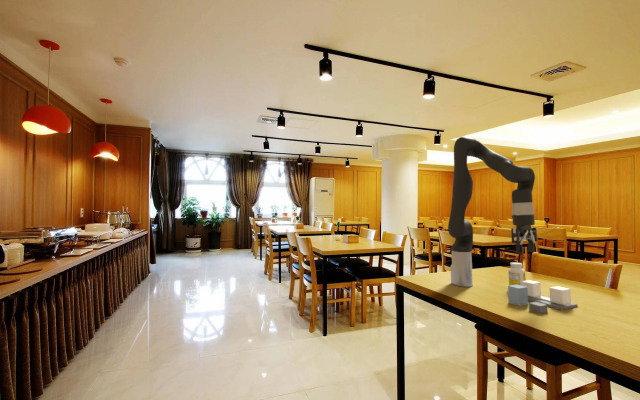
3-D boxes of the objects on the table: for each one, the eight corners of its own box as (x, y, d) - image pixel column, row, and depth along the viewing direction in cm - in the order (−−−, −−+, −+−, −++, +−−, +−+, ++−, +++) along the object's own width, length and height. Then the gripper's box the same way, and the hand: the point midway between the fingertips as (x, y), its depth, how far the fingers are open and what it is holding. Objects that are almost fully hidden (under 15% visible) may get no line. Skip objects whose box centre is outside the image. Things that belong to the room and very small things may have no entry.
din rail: (516, 297, 125) (516, 281, 126) (532, 294, 129) (531, 279, 129) (561, 310, 109) (560, 291, 110) (577, 306, 113) (576, 288, 113)
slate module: (508, 302, 119) (508, 285, 119) (517, 301, 121) (516, 284, 121) (519, 306, 115) (518, 288, 115) (528, 304, 117) (527, 287, 117)
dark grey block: (529, 310, 110) (528, 302, 110) (536, 309, 111) (536, 301, 111) (540, 314, 106) (540, 306, 106) (547, 312, 107) (547, 304, 108)
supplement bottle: (520, 288, 139) (519, 261, 140) (529, 292, 133) (528, 264, 133) (506, 288, 140) (505, 261, 140) (514, 292, 133) (512, 264, 134)
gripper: (522, 213, 126) (525, 250, 125) (503, 214, 120) (505, 253, 119) (542, 213, 120) (545, 252, 119) (522, 213, 113) (525, 255, 112)
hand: (525, 252), depth 119 cm, fingers open, 8 cm apart
